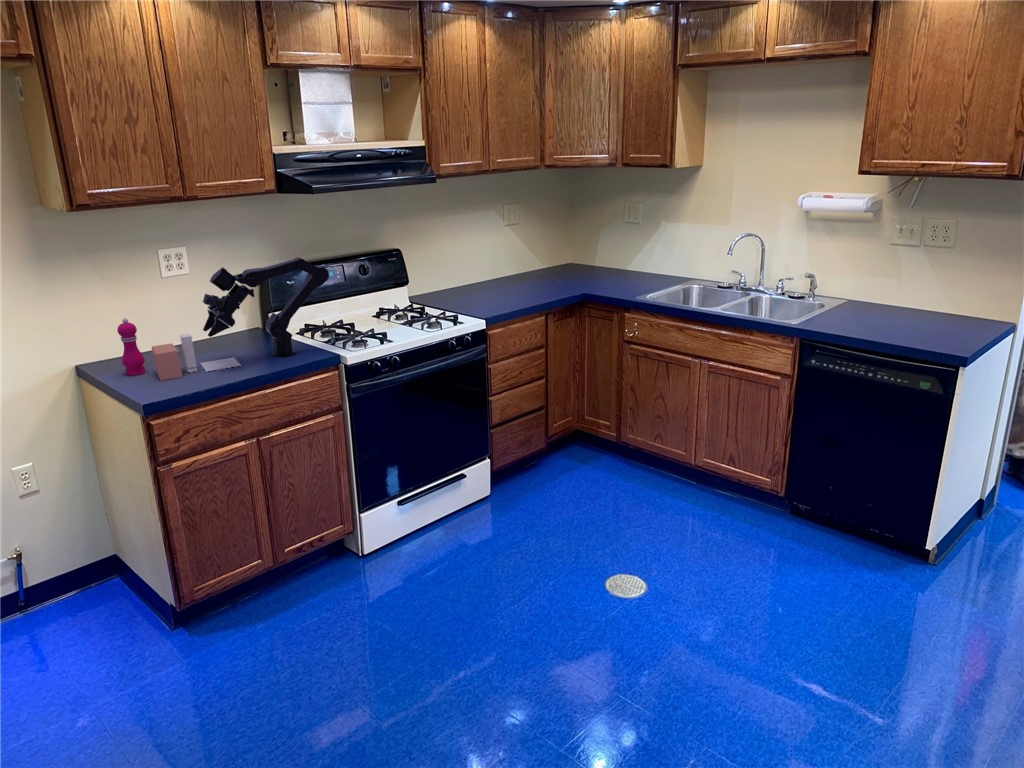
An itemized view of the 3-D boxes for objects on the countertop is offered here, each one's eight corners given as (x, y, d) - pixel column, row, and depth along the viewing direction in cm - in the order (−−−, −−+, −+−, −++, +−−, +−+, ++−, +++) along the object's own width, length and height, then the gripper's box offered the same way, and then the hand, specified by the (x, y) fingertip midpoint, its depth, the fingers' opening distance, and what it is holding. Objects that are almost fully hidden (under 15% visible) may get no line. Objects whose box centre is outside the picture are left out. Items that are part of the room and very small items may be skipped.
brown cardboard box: (179, 367, 266) (175, 342, 263) (185, 376, 256) (180, 350, 253) (156, 371, 262) (151, 346, 259) (160, 380, 252) (155, 354, 249)
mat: (234, 358, 275) (233, 357, 275) (241, 366, 266) (241, 365, 266) (200, 364, 269) (200, 363, 269) (206, 372, 260) (206, 371, 260)
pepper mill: (121, 373, 261) (110, 318, 255) (142, 368, 266) (132, 314, 259) (128, 377, 256) (117, 322, 250) (150, 372, 261) (139, 318, 254)
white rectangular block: (195, 367, 266) (189, 333, 261) (197, 371, 261) (191, 336, 257) (185, 369, 264) (179, 334, 260) (188, 372, 260) (182, 337, 256)
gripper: (209, 281, 267) (182, 315, 265) (220, 289, 252) (191, 325, 250) (235, 299, 273) (208, 332, 271) (247, 309, 258) (219, 344, 256)
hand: (206, 333), depth 262 cm, fingers open, 9 cm apart
